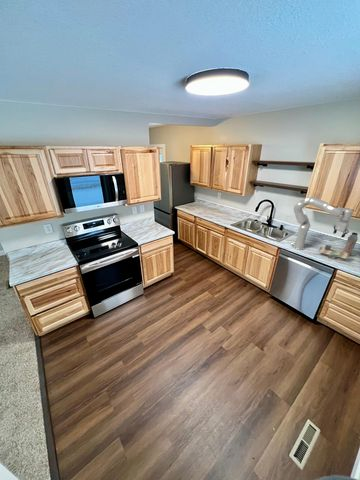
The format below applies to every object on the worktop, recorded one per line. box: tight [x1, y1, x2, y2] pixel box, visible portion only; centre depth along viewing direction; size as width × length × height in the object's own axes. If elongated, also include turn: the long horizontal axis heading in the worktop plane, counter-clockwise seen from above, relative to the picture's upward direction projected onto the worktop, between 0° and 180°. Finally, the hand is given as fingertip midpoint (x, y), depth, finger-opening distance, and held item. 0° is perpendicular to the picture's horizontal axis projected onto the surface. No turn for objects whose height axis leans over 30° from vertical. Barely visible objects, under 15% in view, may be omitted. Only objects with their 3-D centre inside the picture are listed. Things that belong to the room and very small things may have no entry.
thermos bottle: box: [342, 232, 359, 258], centre depth 218 cm, size 8×8×28 cm
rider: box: [324, 244, 332, 251], centre depth 220 cm, size 5×5×7 cm
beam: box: [318, 246, 348, 260], centre depth 219 cm, size 26×6×8 cm, turn 52°
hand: (338, 235), depth 210 cm, fingers open, 9 cm apart
